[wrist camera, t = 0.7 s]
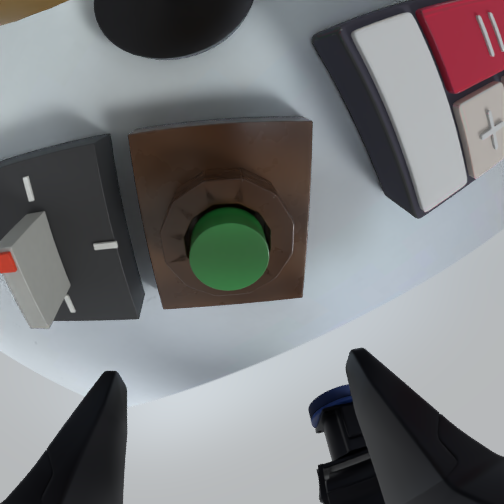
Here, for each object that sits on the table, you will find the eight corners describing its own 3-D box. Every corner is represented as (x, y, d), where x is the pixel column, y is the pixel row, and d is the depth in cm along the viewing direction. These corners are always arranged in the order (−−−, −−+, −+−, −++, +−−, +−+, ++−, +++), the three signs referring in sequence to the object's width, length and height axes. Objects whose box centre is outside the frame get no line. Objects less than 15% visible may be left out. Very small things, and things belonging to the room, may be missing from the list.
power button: (264, 267, 17) (269, 287, 15) (195, 272, 16) (194, 293, 15) (263, 203, 15) (269, 220, 13) (187, 209, 14) (183, 226, 13)
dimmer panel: (146, 294, 21) (140, 321, 18) (40, 299, 20) (27, 322, 18) (111, 132, 15) (94, 143, 12) (-8, 163, 14) (-31, 178, 12)
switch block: (297, 282, 21) (309, 316, 18) (165, 293, 21) (160, 329, 18) (303, 116, 16) (324, 126, 13) (135, 128, 15) (117, 142, 12)
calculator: (551, 128, 13) (424, 228, 15) (512, 115, 16) (385, 199, 18) (513, -17, 7) (341, 24, 9) (471, -13, 11) (307, 37, 13)
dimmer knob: (71, 285, 16) (48, 332, 13) (53, 286, 16) (29, 331, 13) (45, 210, 14) (8, 249, 10) (26, 213, 14) (-11, 252, 10)
